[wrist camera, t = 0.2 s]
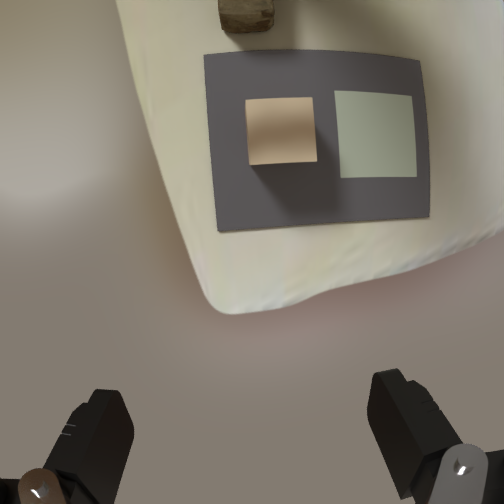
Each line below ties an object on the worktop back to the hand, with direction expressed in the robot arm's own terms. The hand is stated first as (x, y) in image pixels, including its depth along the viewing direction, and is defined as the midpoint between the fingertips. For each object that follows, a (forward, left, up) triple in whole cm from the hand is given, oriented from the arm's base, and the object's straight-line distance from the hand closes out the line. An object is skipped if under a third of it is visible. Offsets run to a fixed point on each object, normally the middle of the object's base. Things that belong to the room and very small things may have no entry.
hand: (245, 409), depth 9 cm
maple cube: (-10, +4, -28) cm, 30 cm away
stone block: (-28, +2, -28) cm, 40 cm away
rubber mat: (-10, +10, -28) cm, 31 cm away
